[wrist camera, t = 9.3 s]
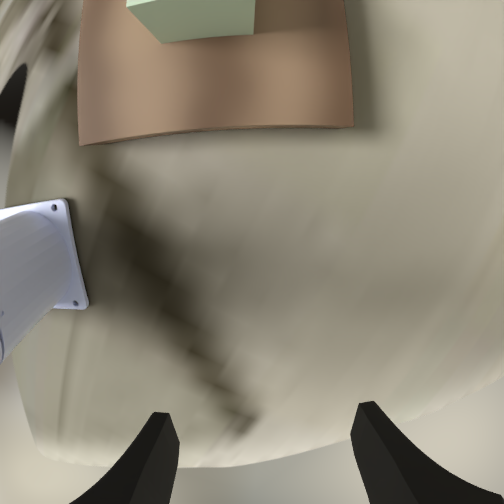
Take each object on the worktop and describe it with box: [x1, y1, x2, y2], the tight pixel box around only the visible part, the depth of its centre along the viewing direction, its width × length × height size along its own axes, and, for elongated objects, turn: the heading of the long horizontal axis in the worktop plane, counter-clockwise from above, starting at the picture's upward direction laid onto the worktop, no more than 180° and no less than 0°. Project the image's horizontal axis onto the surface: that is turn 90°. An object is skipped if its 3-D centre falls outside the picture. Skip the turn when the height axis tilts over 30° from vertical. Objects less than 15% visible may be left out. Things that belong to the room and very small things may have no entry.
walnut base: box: [78, 0, 354, 146], centre depth 13 cm, size 14×14×3 cm
